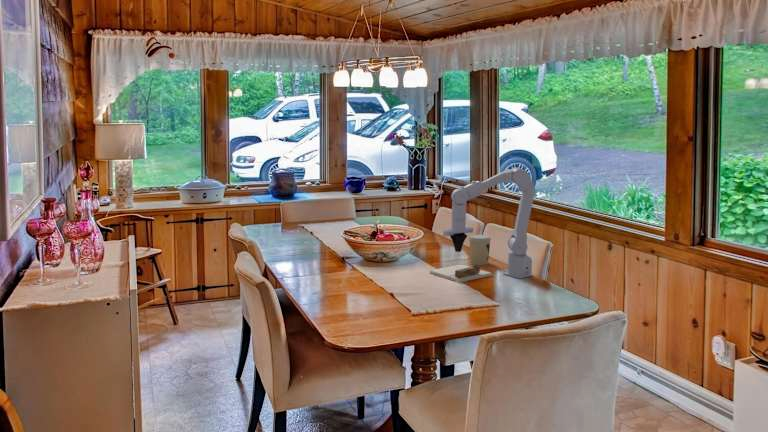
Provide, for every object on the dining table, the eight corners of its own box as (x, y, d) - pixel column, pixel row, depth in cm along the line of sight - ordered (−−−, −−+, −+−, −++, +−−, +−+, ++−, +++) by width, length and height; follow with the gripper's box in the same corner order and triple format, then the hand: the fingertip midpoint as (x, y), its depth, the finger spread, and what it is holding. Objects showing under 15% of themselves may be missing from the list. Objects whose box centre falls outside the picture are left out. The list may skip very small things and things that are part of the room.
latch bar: (474, 271, 280) (475, 264, 280) (479, 272, 278) (479, 265, 278) (455, 276, 272) (455, 269, 272) (459, 277, 270) (459, 270, 270)
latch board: (491, 275, 280) (491, 272, 280) (458, 282, 269) (458, 279, 269) (461, 267, 294) (461, 264, 294) (429, 273, 284) (429, 270, 284)
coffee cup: (491, 265, 297) (492, 238, 295) (469, 265, 297) (470, 238, 295) (488, 260, 306) (489, 234, 304) (467, 260, 306) (468, 234, 304)
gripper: (465, 215, 284) (464, 247, 287) (438, 219, 276) (438, 251, 278) (477, 218, 279) (476, 250, 281) (450, 221, 270) (449, 255, 273)
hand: (458, 251), depth 279 cm, fingers closed
